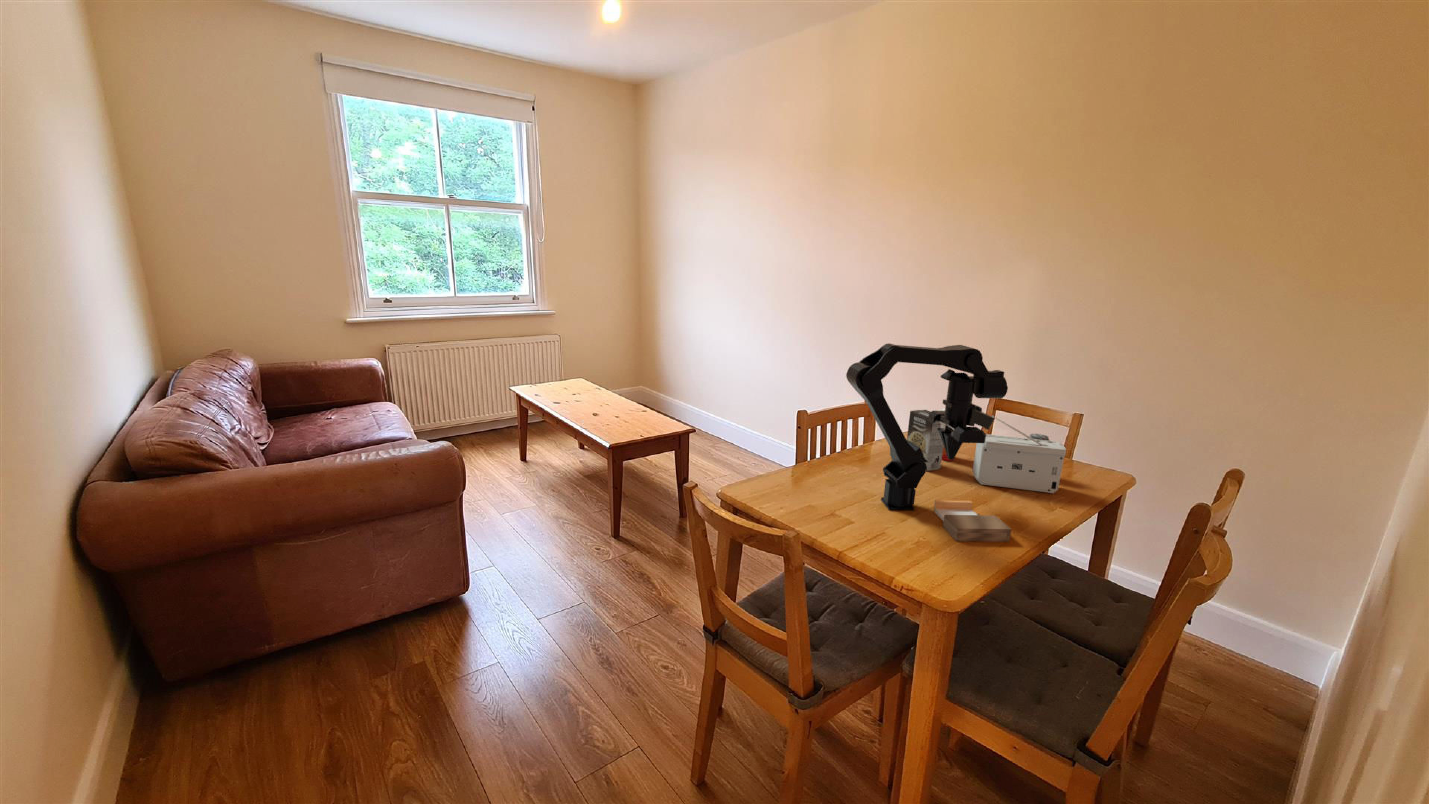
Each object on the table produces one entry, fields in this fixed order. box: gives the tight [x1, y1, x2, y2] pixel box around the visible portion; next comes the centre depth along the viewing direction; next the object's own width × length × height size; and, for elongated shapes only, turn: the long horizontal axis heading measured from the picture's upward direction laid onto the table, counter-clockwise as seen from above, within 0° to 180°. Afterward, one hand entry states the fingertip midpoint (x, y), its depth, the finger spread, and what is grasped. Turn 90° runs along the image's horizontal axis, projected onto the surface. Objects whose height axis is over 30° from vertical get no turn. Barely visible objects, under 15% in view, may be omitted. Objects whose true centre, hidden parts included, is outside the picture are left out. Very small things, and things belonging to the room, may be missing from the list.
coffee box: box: [906, 409, 944, 472], centre depth 170 cm, size 9×6×16 cm
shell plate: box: [933, 499, 978, 521], centre depth 136 cm, size 9×8×3 cm
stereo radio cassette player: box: [972, 415, 1067, 494], centre depth 156 cm, size 21×8×20 cm, turn 74°
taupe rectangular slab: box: [942, 514, 1012, 543], centre depth 128 cm, size 12×7×3 cm, turn 92°
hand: (950, 459), depth 141 cm, fingers closed
